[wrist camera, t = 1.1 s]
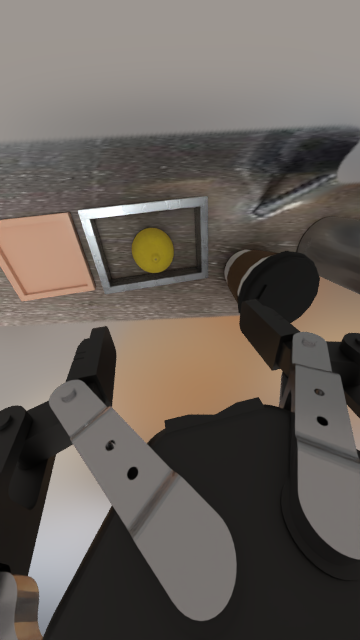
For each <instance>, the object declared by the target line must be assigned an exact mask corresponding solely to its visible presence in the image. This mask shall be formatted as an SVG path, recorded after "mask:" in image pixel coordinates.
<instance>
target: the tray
mask: <svg viewBox="0 0 360 640" xmlns="http://www.w3.org/2000/svg"><path fill="white" fill-rule="evenodd" d="M0 266H1V268H2V270H3V271H4V273H5V274H6V276H7V278H8V279H9V281H10V283H11V284H12V286H13V288H14V289H15V291H16V293H17V294H18V296H19V298H20V299H21V301H27V300H34V299H40V298H47V297H53V296H59V295H66V294H72V293H78V292H85V291H91V290H95V289H96V285H95V282H94V279H93V276H92V274H91V271H90V268H89V265H88V262H87V259H86V256H85V254H84V251H83V248H82V245H81V242H80V239H79V236H78V234H77V231H76V228H75V225H74V222H73V219H72V216H71V214H70V212H65V213H56V214H47V215H38V216H29V217H20V218H11V219H2V220H0Z"/></svg>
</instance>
